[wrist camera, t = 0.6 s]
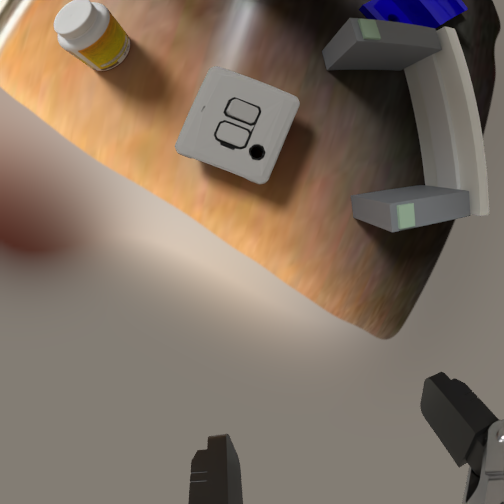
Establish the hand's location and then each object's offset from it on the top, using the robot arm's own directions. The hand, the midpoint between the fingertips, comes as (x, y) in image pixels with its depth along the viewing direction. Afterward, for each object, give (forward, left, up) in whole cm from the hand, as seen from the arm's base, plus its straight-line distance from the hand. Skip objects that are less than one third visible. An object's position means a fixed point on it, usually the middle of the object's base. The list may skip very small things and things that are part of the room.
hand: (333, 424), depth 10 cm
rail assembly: (-12, +16, -25) cm, 32 cm away
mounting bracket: (-30, +27, -25) cm, 47 cm away
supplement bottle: (-27, -13, -25) cm, 39 cm away
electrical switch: (-12, +3, -25) cm, 28 cm away
